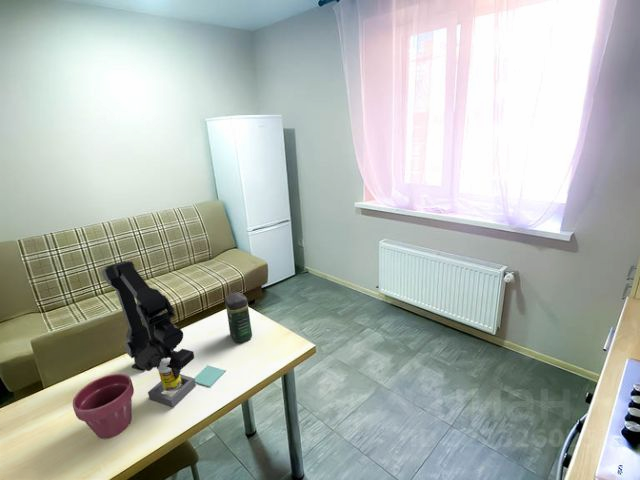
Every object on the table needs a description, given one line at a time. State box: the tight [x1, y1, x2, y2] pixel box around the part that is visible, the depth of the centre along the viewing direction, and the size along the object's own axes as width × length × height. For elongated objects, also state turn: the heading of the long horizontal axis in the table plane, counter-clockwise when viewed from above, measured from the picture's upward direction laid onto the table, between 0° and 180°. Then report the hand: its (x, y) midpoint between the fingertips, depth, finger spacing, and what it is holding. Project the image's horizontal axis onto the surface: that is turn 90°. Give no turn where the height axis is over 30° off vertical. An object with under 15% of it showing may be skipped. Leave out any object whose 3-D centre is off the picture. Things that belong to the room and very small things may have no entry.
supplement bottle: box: [157, 358, 182, 392], centre depth 106 cm, size 6×6×10 cm
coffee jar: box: [224, 291, 253, 344], centre depth 133 cm, size 10×8×19 cm
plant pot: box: [72, 373, 135, 440], centre depth 96 cm, size 14×14×13 cm
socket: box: [147, 373, 197, 409], centre depth 108 cm, size 10×10×3 cm
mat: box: [193, 364, 227, 388], centre depth 115 cm, size 8×8×1 cm
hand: (170, 375), depth 107 cm, fingers closed on supplement bottle, 5 cm apart
